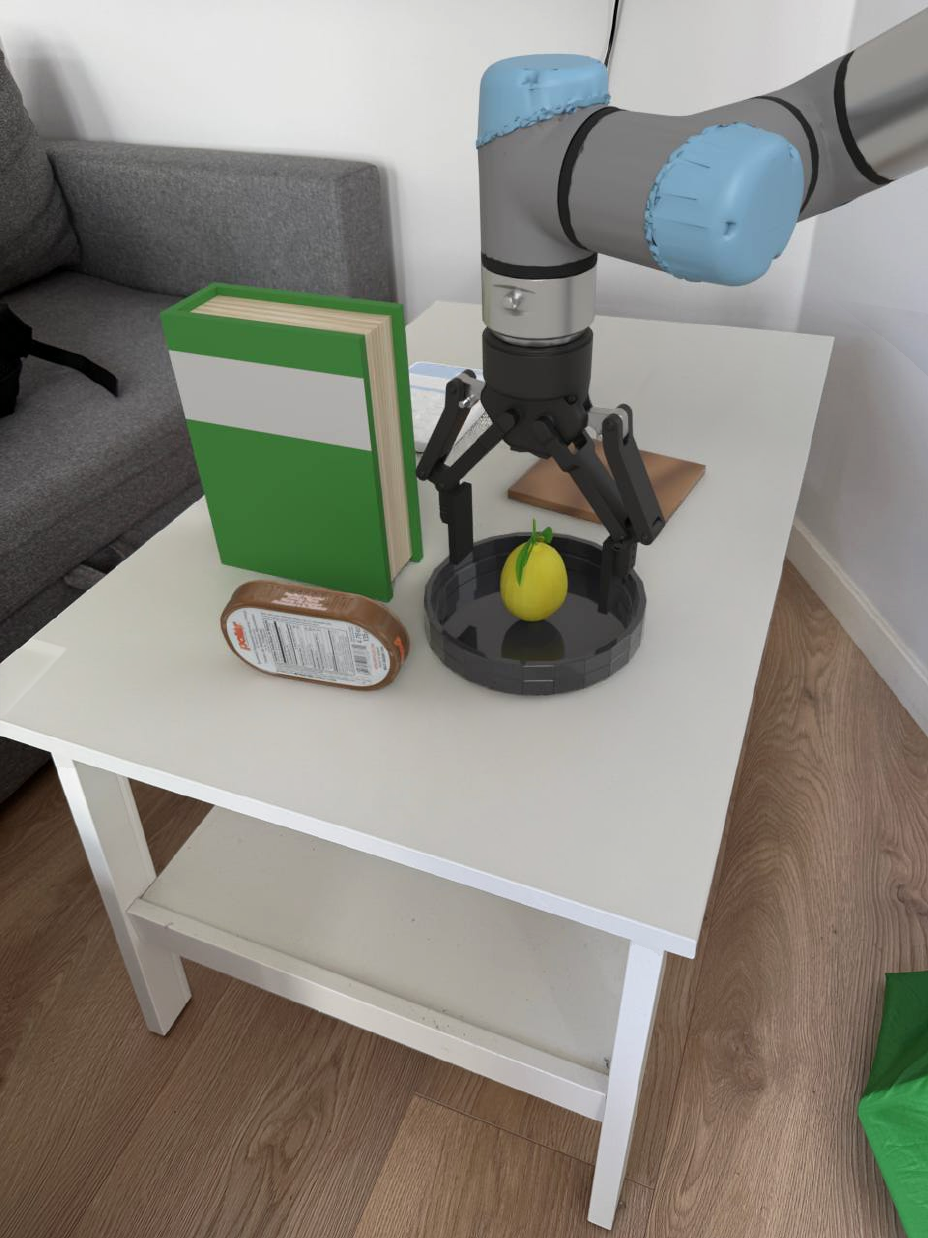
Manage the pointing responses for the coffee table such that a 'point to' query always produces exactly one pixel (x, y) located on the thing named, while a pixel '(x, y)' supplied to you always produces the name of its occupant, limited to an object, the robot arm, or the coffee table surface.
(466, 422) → the calculator
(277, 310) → the hardback book
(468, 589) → the pan
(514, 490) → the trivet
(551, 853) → the coffee table surface
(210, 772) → the coffee table surface
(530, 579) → the lemon
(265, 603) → the tin
